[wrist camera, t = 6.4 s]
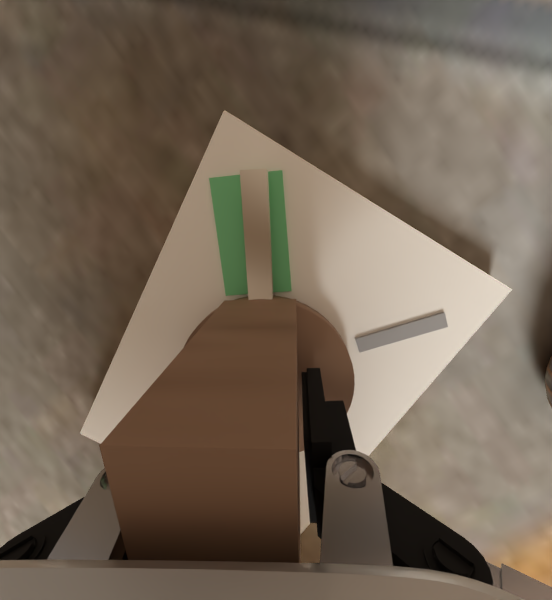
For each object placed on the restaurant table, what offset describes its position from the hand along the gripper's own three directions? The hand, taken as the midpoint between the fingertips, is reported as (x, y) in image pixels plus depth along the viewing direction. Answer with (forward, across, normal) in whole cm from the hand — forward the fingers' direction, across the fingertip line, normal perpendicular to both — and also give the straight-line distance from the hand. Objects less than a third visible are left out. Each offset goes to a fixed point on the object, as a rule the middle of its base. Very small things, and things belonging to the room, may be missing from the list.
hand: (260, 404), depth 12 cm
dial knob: (+2, 0, -2) cm, 3 cm away
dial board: (+4, 0, 0) cm, 4 cm away
